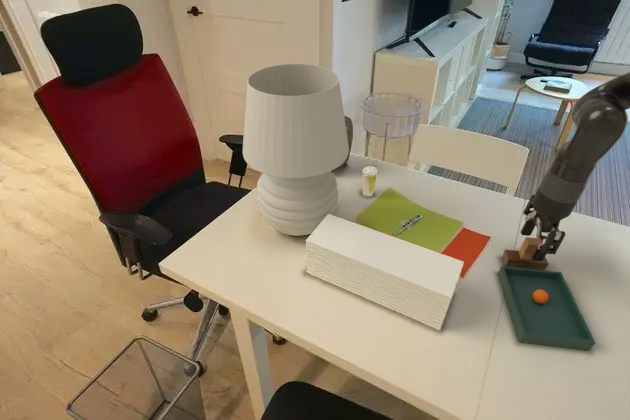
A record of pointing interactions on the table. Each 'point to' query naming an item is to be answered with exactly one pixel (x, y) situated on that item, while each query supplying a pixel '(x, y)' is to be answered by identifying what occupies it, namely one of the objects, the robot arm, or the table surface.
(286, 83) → the table lamp
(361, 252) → the stack of papers
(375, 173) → the milkshake
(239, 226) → the table surface
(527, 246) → the brush
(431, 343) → the table surface
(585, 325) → the tray
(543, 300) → the ball
